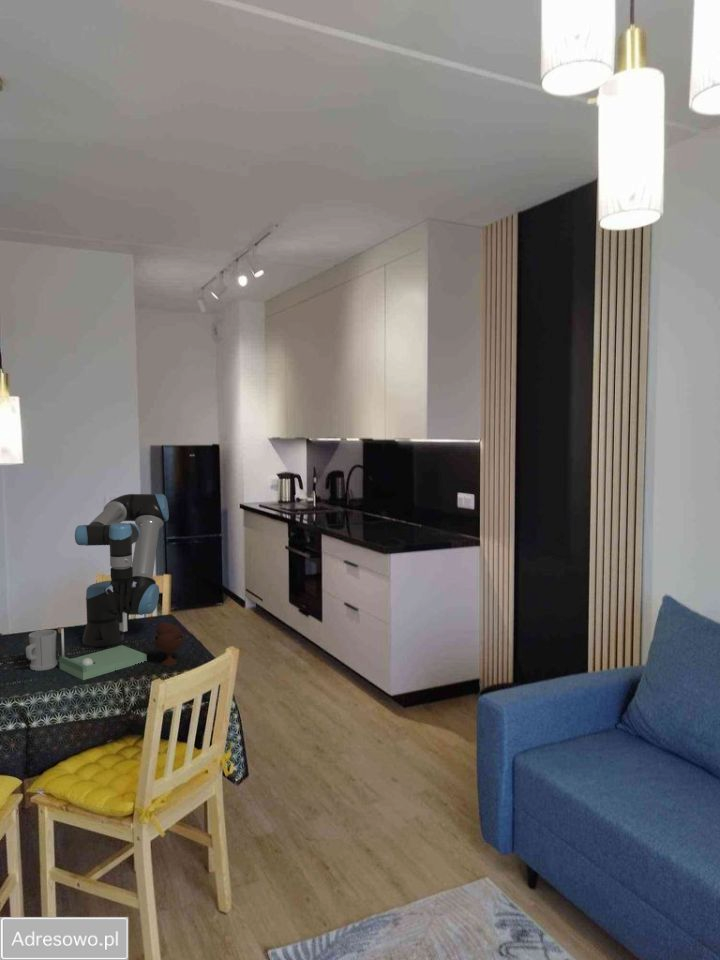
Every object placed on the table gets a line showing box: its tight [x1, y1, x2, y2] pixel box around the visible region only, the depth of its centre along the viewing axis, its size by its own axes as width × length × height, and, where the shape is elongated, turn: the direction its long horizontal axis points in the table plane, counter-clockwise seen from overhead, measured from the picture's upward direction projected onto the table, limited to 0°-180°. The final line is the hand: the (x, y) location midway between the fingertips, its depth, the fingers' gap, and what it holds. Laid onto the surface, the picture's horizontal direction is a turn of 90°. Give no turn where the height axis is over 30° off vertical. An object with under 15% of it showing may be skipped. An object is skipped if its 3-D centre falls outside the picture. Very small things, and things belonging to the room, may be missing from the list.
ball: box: [81, 658, 93, 666], centre depth 233 cm, size 4×4×4 cm
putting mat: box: [57, 626, 148, 681], centre depth 238 cm, size 17×24×14 cm
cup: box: [25, 629, 58, 672], centre depth 235 cm, size 10×9×12 cm
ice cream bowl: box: [152, 621, 186, 667], centre depth 240 cm, size 11×11×15 cm
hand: (123, 630), depth 244 cm, fingers closed
